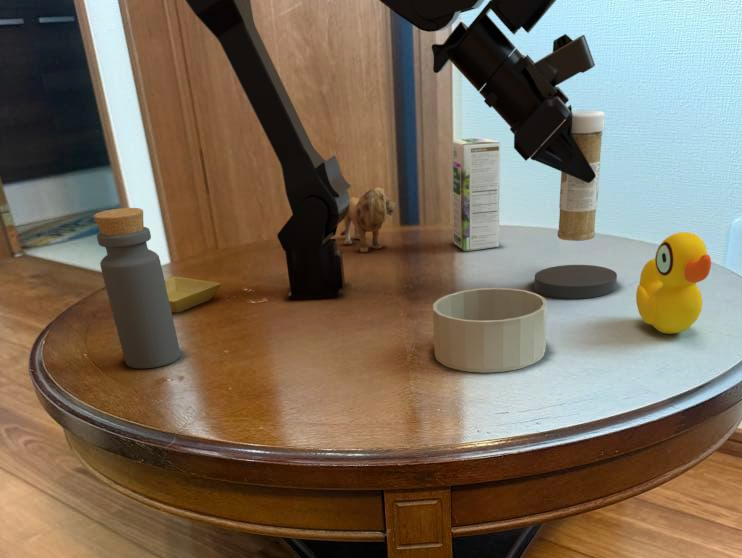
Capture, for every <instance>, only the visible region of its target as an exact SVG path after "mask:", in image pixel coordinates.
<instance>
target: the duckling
mask: <svg viewBox="0 0 742 558" xmlns="http://www.w3.org/2000/svg"><path fill="white" fill-rule="evenodd" d="M707 251H708V250H707V247H706V244H705V242H704V241H703V239H702V238H701V237H700V236H699V235H697V234H696V233H692V232H687V231H679V232H676V233H673V234H670V235H669V236H667V237H666V238H664V239H663V240H662V241H661V243H660V244H659V246H658V248H657V250H656V252H655V257H654V258H652V259H650V260H648V261H647V262H646V263H645V265H644V266H643V268H642V270H641V272H640V277H639V284H638V285H637V288H636V293H635V294H636V295H635V301H636V307H637V311H638V313H639V315H640V317H641V319H642V321H643V322H644V323H645V324H648V325H651V326H652V327H654V329H656V330H657V331H659V332H660V333H663V334H671V335H672V334H679V333H682V332H685V331H687V330H688V329H689V328H691V326H692V325H694V324H695V322H696V321H698V319H699V317H700V316H701V312H702V308H703V297H702V293H701V290H700V289H699V287H698V285H697V283H700V282H702V281H705V280H706V278H708V276H709V274H710V272H711V266H712V258H711V256H710V254H708V252H707Z"/></svg>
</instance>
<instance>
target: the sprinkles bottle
mask: <svg viewBox="0 0 742 558" xmlns="http://www.w3.org/2000/svg"><path fill="white" fill-rule="evenodd" d="M572 114H573V120H572V135H573V137H574V139H575V141H576V142H577V144H578V146H579V147H580V149H581V151H582V152H583V154H584V156H585V157H586V159H587V161H588V162H589V164H590V166H591V168H592V169H593V171H594V173H595V175H596V177H595V178H594V179H593V180H592V181H591V182H590V183H587V182H585V181H582V180H580V179H578V178H575V177H573V176H571V175H569V174H566V173H564V172H562V171H560V188H559V189H560V190H559V205H558V207H559V216H558V217H559V218H558V219H559V220H558V231H557V237H558V239H559V240H562V241H572V242H579V241H580V242H582V241H588V240H589V241H590V240H591V239H594V238H595V236H596V231H595V227H596V212H597V209H598V198H599V197H598V196H599V185H600V173H601V153H602V139H603V138H602V136H603V131H604V130H605V120H606V115H605V112H604V111H601V110H592V109H589V110H588V109H586V110H585V109H584V110H583V109H582V110H574V111H572Z"/></svg>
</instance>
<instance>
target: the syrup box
mask: <svg viewBox="0 0 742 558" xmlns="http://www.w3.org/2000/svg"><path fill="white" fill-rule="evenodd" d="M500 197H501V141H496V140H493V139H490V138H488V137H465V138H460V139H456V140H453V141H452V224H453V227H452V229H453V245H455V246H457V247H458V248H460V249H461V250H462V251H463V252H469V251H470V252H471V251H477V250H484V249H485V250H486V249H493V248H498V247H500V217H501V216H500V214H501V213H500V208H501V207H500V206H501V203H500V202H501V201H500V199H501V198H500Z"/></svg>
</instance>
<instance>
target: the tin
mask: <svg viewBox="0 0 742 558" xmlns="http://www.w3.org/2000/svg"><path fill="white" fill-rule="evenodd" d="M432 319H433V321H432V322H433V343H434V344H433V345H434V358H435V360H436V361H437V362H438V363H439V364H441V365H443V366H445V367H447V368H450V369H454V370H456V371H462V372H470V373H482V374H483V373H485V374H486V373H488V374H489V373H501V372H510V371H516V370H519V369H523V368H527V367H530V366H532V365H534V364H536V363H538V362H539V361H541V360H542V359H543V357H544V356H545V353H546V350H547V349H546V348H547V320H548V302H547V300H546V298H545V297H544V296H542V295H541V294H539V293H537V292H536V293H535V292H532V291H529V290H524V289H518V288H517V289H516V288H509V287H508V288H507V287H486V288H473V289H467V290H461V291H457V292H453V293H449V294H446V295H444V296H442V297H440V298H438V299H437V300H436V301H435V302H434V303H432Z"/></svg>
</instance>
